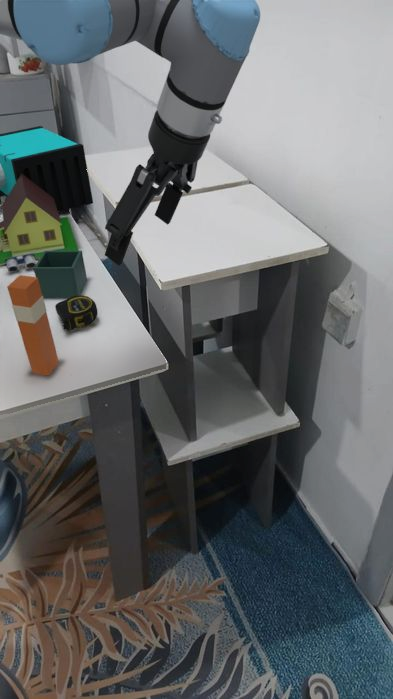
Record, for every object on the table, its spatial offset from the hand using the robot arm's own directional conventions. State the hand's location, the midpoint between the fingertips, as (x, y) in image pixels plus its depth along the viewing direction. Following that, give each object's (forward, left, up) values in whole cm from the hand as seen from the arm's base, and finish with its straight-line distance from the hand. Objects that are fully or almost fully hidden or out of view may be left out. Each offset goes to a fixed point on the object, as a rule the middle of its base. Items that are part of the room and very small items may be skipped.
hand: (138, 238), depth 85 cm
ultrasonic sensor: (-30, +22, -18) cm, 41 cm away
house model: (-31, +34, -17) cm, 49 cm away
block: (-15, -11, -17) cm, 26 cm away
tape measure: (-13, +1, -17) cm, 22 cm away
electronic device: (-39, +55, -17) cm, 69 cm away
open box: (-18, +13, -17) cm, 29 cm away
